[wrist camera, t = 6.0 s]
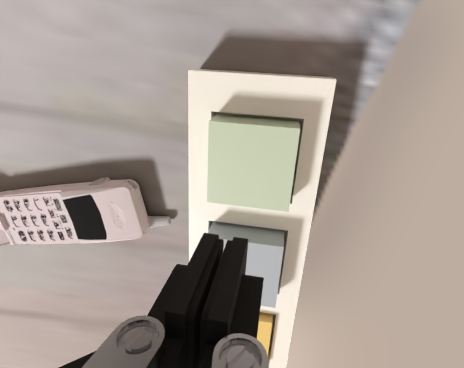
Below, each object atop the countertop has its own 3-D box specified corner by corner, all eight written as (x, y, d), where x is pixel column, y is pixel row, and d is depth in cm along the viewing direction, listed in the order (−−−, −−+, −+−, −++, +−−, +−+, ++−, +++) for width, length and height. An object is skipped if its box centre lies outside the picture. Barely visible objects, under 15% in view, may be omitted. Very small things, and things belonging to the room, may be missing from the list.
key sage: (216, 114, 22) (208, 121, 20) (298, 121, 22) (300, 128, 19) (214, 189, 25) (206, 202, 23) (288, 197, 24) (288, 211, 22)
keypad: (199, 68, 24) (188, 70, 21) (330, 76, 23) (336, 79, 20) (197, 343, 35) (189, 367, 33) (283, 359, 34) (283, 385, 31)
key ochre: (213, 293, 31) (207, 312, 28) (273, 302, 30) (272, 323, 27) (212, 336, 33) (206, 357, 31) (267, 346, 32) (265, 368, 30)
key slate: (213, 221, 26) (206, 236, 24) (284, 230, 25) (283, 247, 23) (211, 277, 28) (204, 296, 26) (276, 287, 27) (275, 308, 25)
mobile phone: (-115, 216, 28) (129, 196, 23) (-50, 190, 33) (159, 169, 28) (-81, 270, 30) (149, 263, 25) (-25, 237, 36) (174, 226, 30)
